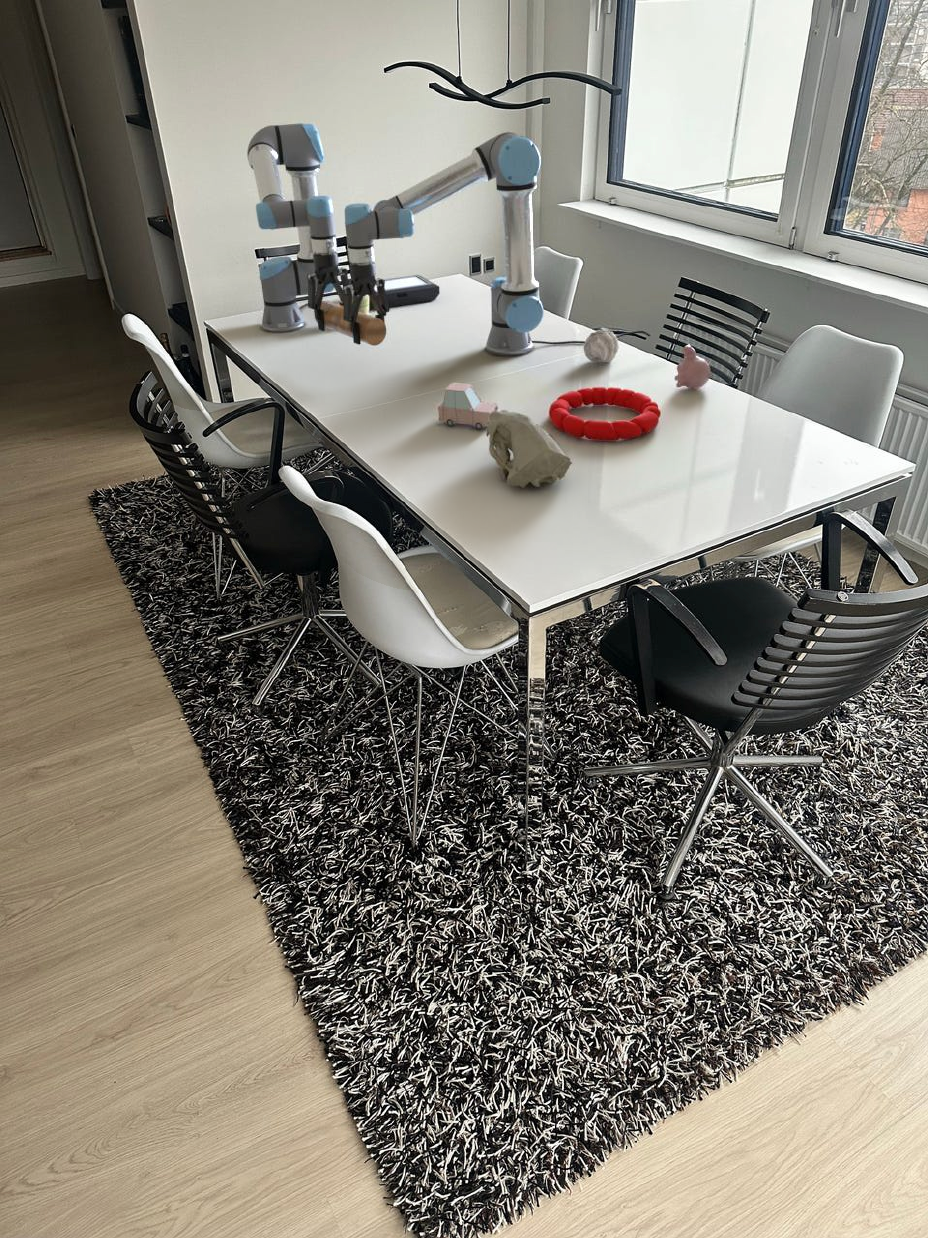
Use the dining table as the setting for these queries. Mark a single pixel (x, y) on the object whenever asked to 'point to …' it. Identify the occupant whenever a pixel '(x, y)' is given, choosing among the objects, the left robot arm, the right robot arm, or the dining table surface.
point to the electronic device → (408, 291)
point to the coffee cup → (362, 302)
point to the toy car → (465, 406)
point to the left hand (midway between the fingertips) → (333, 326)
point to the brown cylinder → (368, 325)
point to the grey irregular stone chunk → (525, 450)
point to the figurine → (692, 370)
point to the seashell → (601, 346)
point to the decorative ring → (604, 428)
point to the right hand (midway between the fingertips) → (368, 340)
